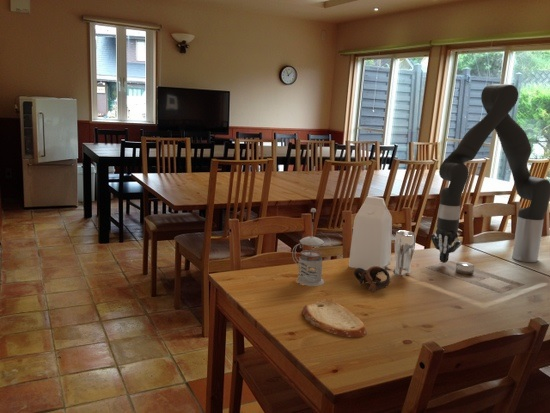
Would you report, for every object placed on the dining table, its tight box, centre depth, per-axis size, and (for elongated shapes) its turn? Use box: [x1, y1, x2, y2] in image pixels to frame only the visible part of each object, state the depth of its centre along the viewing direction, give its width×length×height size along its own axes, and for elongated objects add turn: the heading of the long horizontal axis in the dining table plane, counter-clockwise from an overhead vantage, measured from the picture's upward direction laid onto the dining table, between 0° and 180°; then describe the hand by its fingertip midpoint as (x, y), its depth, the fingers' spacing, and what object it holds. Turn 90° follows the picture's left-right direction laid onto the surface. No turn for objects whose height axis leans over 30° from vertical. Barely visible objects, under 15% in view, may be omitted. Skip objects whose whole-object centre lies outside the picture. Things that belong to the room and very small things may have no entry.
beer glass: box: [393, 230, 417, 277], centre depth 174 cm, size 7×7×15 cm
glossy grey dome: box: [456, 261, 475, 275], centre depth 175 cm, size 6×6×3 cm
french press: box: [291, 207, 325, 287], centre depth 163 cm, size 10×12×25 cm
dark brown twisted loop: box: [353, 266, 391, 294], centre depth 160 cm, size 12×10×8 cm
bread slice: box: [302, 299, 368, 338], centre depth 135 cm, size 18×18×4 cm
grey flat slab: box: [425, 260, 525, 294], centre depth 173 cm, size 15×29×1 cm, turn 36°
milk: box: [348, 195, 393, 274], centre depth 180 cm, size 12×12×26 cm
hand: (443, 262), depth 182 cm, fingers closed
